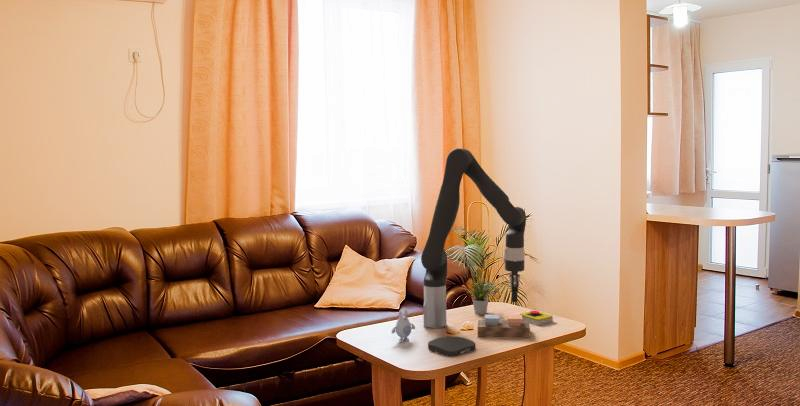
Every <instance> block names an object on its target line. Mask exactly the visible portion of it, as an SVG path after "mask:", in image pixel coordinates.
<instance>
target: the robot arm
mask: <svg viewBox="0 0 800 406" xmlns="http://www.w3.org/2000/svg"><path fill="white" fill-rule="evenodd" d="M464 174H465V175H466V176H467V177H468V178H470V179H471V180H472V182H473V183H474V184H475V186H476V187H477V189H478V190H479V192H480V193H481V195H482V196H483V198H484V199H485V200H486V201H487V202H488V203H489V204H490V205H491V206H492V207H493V208H494V210H495V211H496V212H497V214H498V215H499V217H500V218H501V220H502V221H504V223H505V224H506V225H508V229H507V230H508V231H507V233H505V250H504V270H505V271H506V272H511V273H510V274H509V278H508V279H509V285H510V289H511V290H510V292H511V302H512V303H517V302H518V293H519V288H520V280H521V278H520V277H521V276H520V274H518V273H520V272H524V271H525V258H526V257H525V231H526V223H527V214H526V211H525V210H524V209H523V208H522V207H519V206H514V204H512V202H511V201H510V197H509V196H508V195H507V194H506V193H505V191H503V189H502V188H500V186H499V185H498V184H497V183H496V182H495V181H494V180H493V179H492V178H491V177H490V176H489V175H488V174H487V173H486V172H485V170H484V169H483V168H482V166H481V165H480V163H479V162H478V160H477V159H476V158H475V156H474V155H473V154H472V152H471V151H470V150H468V149H466V148H457V147H456V148H454V149H452V150H451V151H450V152H449V153H448V155H447V157H446V160H445V168H444V174H443V180H442V184H441V186H440V190H439V193H438V196H437V197H438V198H437V200H436V202H435V203H436V204H435V208H434V211H433V216H432V220H431V224H430V229H429V234H428V238H427V240H426V242H425V245H424V249H423V251H422V253H421V258H420V263H421V265H422V267H423V268H424V269H425V274H424V277H423V306H422V307H423V311H422V312H423V327H424V328H430V329H439V328H440V329H441V328H444V326H445V325H446V326H447V285H446V284H447V278H448V255H447V251H446V250H445V249H444V248H445V246H446V245H445V244H446V241H447V239H448V236H449V234H450V233H451V230H452V229H453V226H454V224H455V222H456V219H457V216H458V212H459V207H460V201H461V200H460V189H461V188H460V186H461V182H462V179H463V176H464ZM446 326H445V327H446Z"/></svg>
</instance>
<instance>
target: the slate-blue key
mask: <svg viewBox="0 0 800 406" xmlns="http://www.w3.org/2000/svg"><path fill="white" fill-rule="evenodd" d="M484 320H485V322H486V325H498V323H499V320H500V314H487V313H486V314H484Z"/></svg>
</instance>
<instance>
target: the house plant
mask: <svg viewBox="0 0 800 406" xmlns="http://www.w3.org/2000/svg"><path fill="white" fill-rule="evenodd" d="M479 279H480V278H479V277H478V276H477V283H475V282H474V281H473V280H472V279H469V280H470V282H471V283H469V286H471V288H472V289H473V290H471V291H470V290H469V291H467V293H471V294H473V295H474V297H473V298H472V304H473V311H474V314H475V315H485V314H486V315H487V311H488V304H489V298H487V297H485V296H486V295H490V294H493V291H491V289H492V287H491V288H489V289H488V287H490V286H492V284H495V283H496V280H495V279H494V280H491V281H489V282H488V283H487V284H486V285H485V277H484V276H483V277H482V280H481V281H480V280H479Z"/></svg>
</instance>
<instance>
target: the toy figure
mask: <svg viewBox="0 0 800 406" xmlns="http://www.w3.org/2000/svg"><path fill="white" fill-rule="evenodd" d="M398 315H399V317H398V319H397V321H396V324H395V326H394V327H393V328H392V329H391V334H392V335H393V334H394V333H396V335H397V336H398V337H399V339H398V341H399V343H403V342H408V341H410V338H408V337H409V336H411V333H412V330H415V329H416V326H415V324H413V323H411V322H410V319H409V317H408V316H407V315H408V310H406V309H405V310H404V311H403V312H402V311H401V310H400V311H399V312H398Z"/></svg>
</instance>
